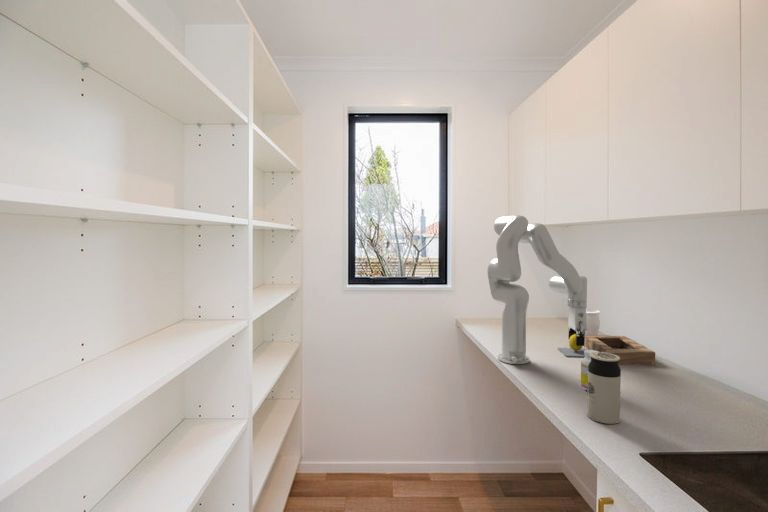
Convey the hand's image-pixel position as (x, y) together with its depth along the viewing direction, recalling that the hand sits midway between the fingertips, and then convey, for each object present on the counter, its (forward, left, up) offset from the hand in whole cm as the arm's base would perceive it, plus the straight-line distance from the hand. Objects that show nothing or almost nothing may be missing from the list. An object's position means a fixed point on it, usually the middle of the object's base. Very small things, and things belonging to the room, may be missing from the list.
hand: (576, 342), depth 172 cm
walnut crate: (0, -16, -5) cm, 17 cm away
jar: (+23, -13, -5) cm, 27 cm away
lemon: (0, 0, -4) cm, 4 cm away
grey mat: (0, 0, -5) cm, 5 cm away
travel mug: (-64, +14, -5) cm, 66 cm away
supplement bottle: (-42, +9, -5) cm, 43 cm away
